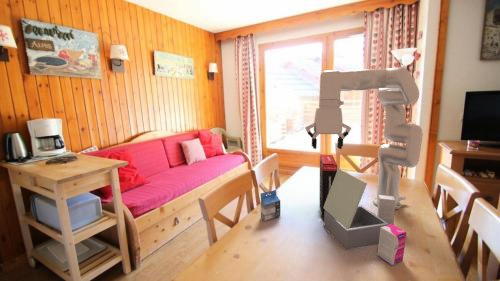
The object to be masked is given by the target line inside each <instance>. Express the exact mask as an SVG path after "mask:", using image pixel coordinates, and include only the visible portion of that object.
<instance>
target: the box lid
mask: <svg viewBox="0 0 500 281" xmlns="http://www.w3.org/2000/svg"><path fill="white" fill-rule="evenodd" d="M367 185H368V182H366V181H364V180H362V179H360V178H358V177H356V176H354V175H352V174H350V173H348V172H347V171H345V170H342V169H340V168H337V173H336V175H335V178H334V181H333V183H332V186H331V189H330V191H329V194H328V197H327V199H326V202H325V204H324V207H323V208H324V209H325V210H326V211H327V212H328V213H329V214H330V215H332V216H333V217H334V218H335V219H336V220H337V221H338V222H339V223H340V224H342V225H343V226H344V227H345V228H346V229H349V228H350V226H351V223H352V221H353V218H354V215H355V213H356V210H357V208H358V206H360V203H361V200H362V197H363V195H364V192H365V191H366V187H367Z"/></svg>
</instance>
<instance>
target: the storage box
mask: <svg viewBox="0 0 500 281" xmlns="http://www.w3.org/2000/svg"><path fill="white" fill-rule="evenodd" d="M387 225H389V224H388V223H387V222H385V221H384V220H382V219H381V218H379V217H378V216H377V214H375V213H373V212H372V211H370V210H369V209H368V208H366V207H364V206H363V205H358V208H357V210H356V213H355V215H354V218H353V221H352V223H351V226H350V228H349V229H346V228H345V227H344V226H343V225H342V224H340V223H339V222H338V221H337V220H336V219H335V218H334V217H333V216H332V215H330V214H329V213H328V212H327V211H326V210H325V212H324V220H323V228H324V229H325V230H326V231H327V232H328V233H329V234H330V235H331V236H332V237H333V238H334V239H335V241H336V242H338V244H340V245H341V247H342V249H344V250H345V251H346V250H352V249H359V248H360V249H361V248H366V247H371V246H377V245H379V237H380V228H381V227H383V226H387Z"/></svg>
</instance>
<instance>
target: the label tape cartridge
mask: <svg viewBox="0 0 500 281" xmlns="http://www.w3.org/2000/svg"><path fill="white" fill-rule="evenodd" d="M280 217H281V199H280V198H279V197H278V195H277V190H276V189H274V190H270V191H266V192H261V193H260V218H261V219H262V220H263V221H264V222H267V221H270V220H274V219H276V218H280Z"/></svg>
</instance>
